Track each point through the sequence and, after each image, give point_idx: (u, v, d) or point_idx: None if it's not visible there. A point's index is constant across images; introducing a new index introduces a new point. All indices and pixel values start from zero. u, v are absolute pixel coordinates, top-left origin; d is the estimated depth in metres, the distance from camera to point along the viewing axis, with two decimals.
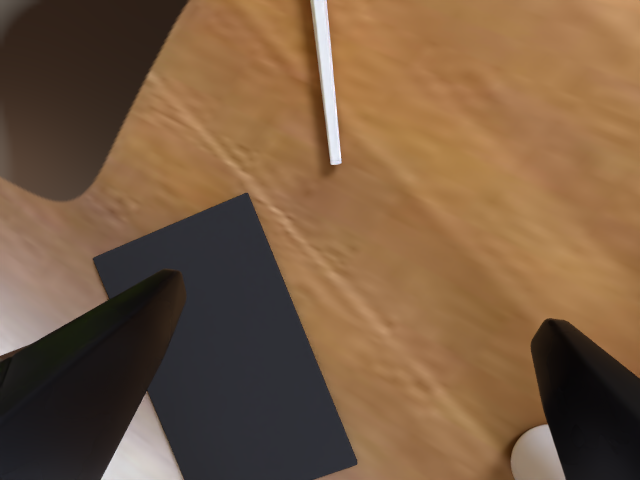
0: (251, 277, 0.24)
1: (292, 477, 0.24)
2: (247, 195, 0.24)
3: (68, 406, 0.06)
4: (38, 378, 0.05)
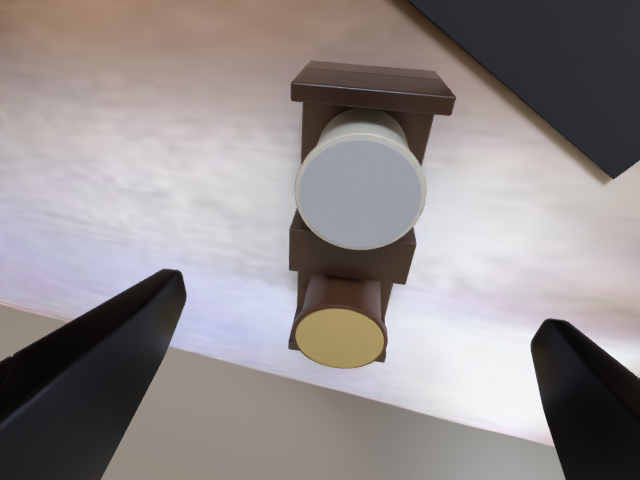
0: None
1: None
2: None
3: (68, 406, 0.06)
4: (38, 378, 0.05)
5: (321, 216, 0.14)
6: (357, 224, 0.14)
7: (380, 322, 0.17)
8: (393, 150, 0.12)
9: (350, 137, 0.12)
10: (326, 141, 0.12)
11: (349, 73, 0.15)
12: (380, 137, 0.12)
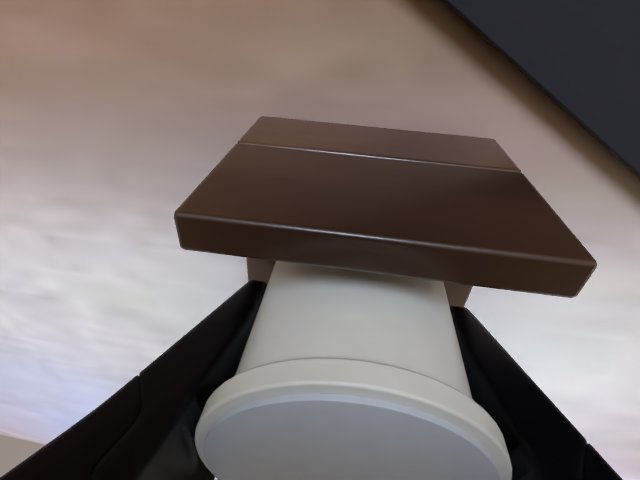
0: None
1: None
2: None
3: (196, 426, 0.06)
4: (175, 399, 0.05)
5: None
6: None
7: None
8: (436, 426, 0.04)
9: (317, 387, 0.04)
10: (255, 384, 0.05)
11: (327, 159, 0.07)
12: (401, 397, 0.04)
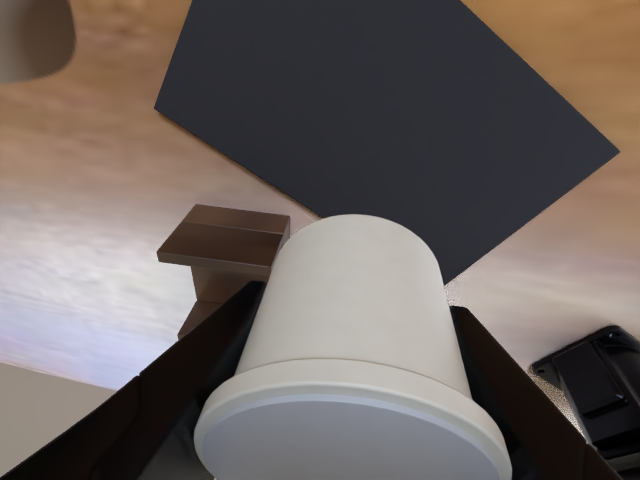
0: None
1: (528, 210, 0.19)
2: None
3: None
4: (175, 399, 0.05)
5: None
6: None
7: None
8: (436, 427, 0.04)
9: (317, 387, 0.04)
10: (254, 385, 0.05)
11: (212, 229, 0.20)
12: (401, 397, 0.04)
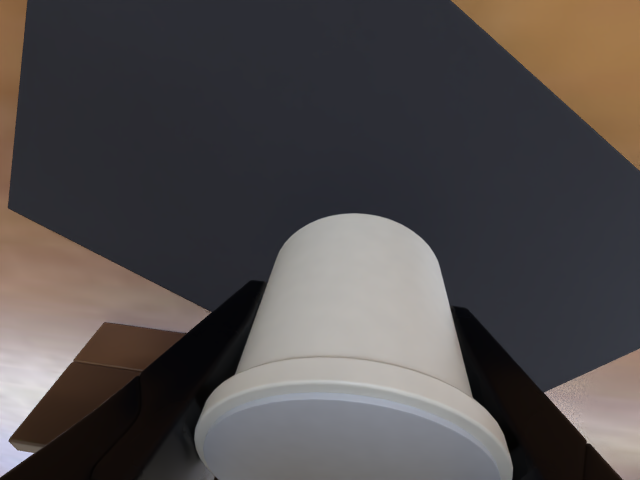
0: (300, 15, 0.07)
1: (597, 354, 0.12)
2: None
3: None
4: (175, 399, 0.05)
5: None
6: None
7: None
8: (438, 426, 0.04)
9: (317, 386, 0.04)
10: (255, 383, 0.05)
11: (114, 378, 0.13)
12: (402, 396, 0.04)
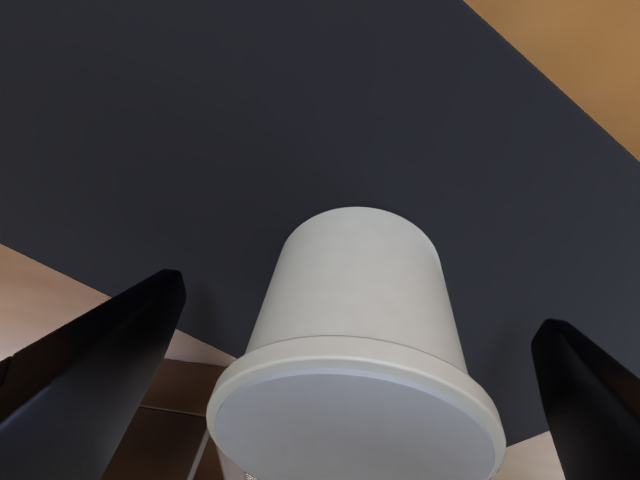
0: (291, 21, 0.06)
1: None
2: None
3: (68, 406, 0.06)
4: (38, 378, 0.05)
5: (270, 463, 0.07)
6: None
7: None
8: (435, 398, 0.05)
9: (323, 361, 0.05)
10: (264, 360, 0.05)
11: None
12: (401, 370, 0.05)
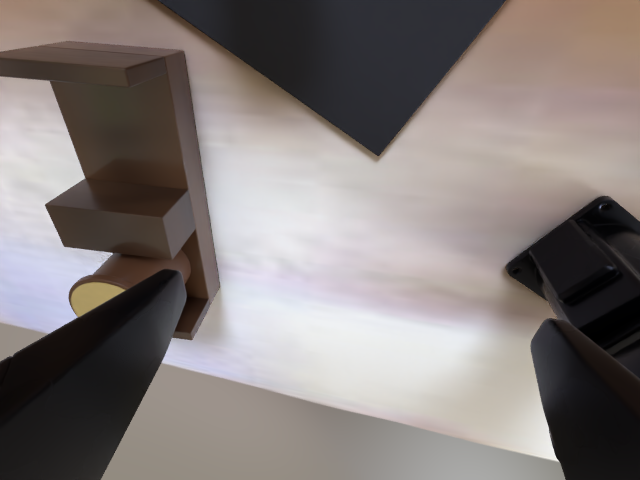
0: None
1: (481, 8, 0.14)
2: None
3: (68, 406, 0.06)
4: (38, 378, 0.05)
5: None
6: None
7: None
8: None
9: None
10: None
11: (71, 50, 0.15)
12: None
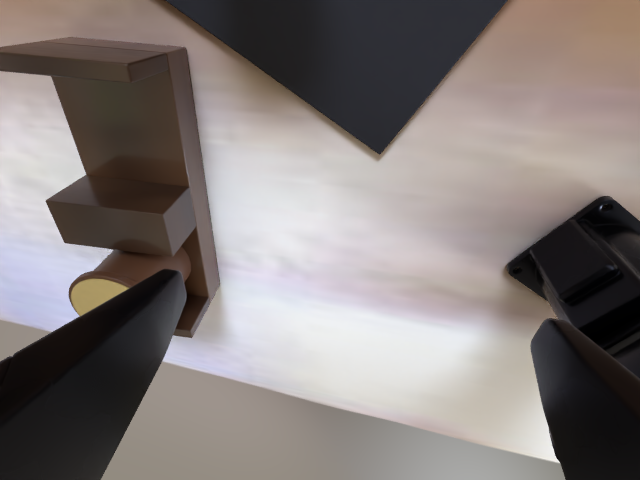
0: None
1: (483, 6, 0.14)
2: None
3: (68, 406, 0.06)
4: (38, 378, 0.05)
5: None
6: None
7: None
8: None
9: None
10: None
11: (73, 46, 0.15)
12: None
